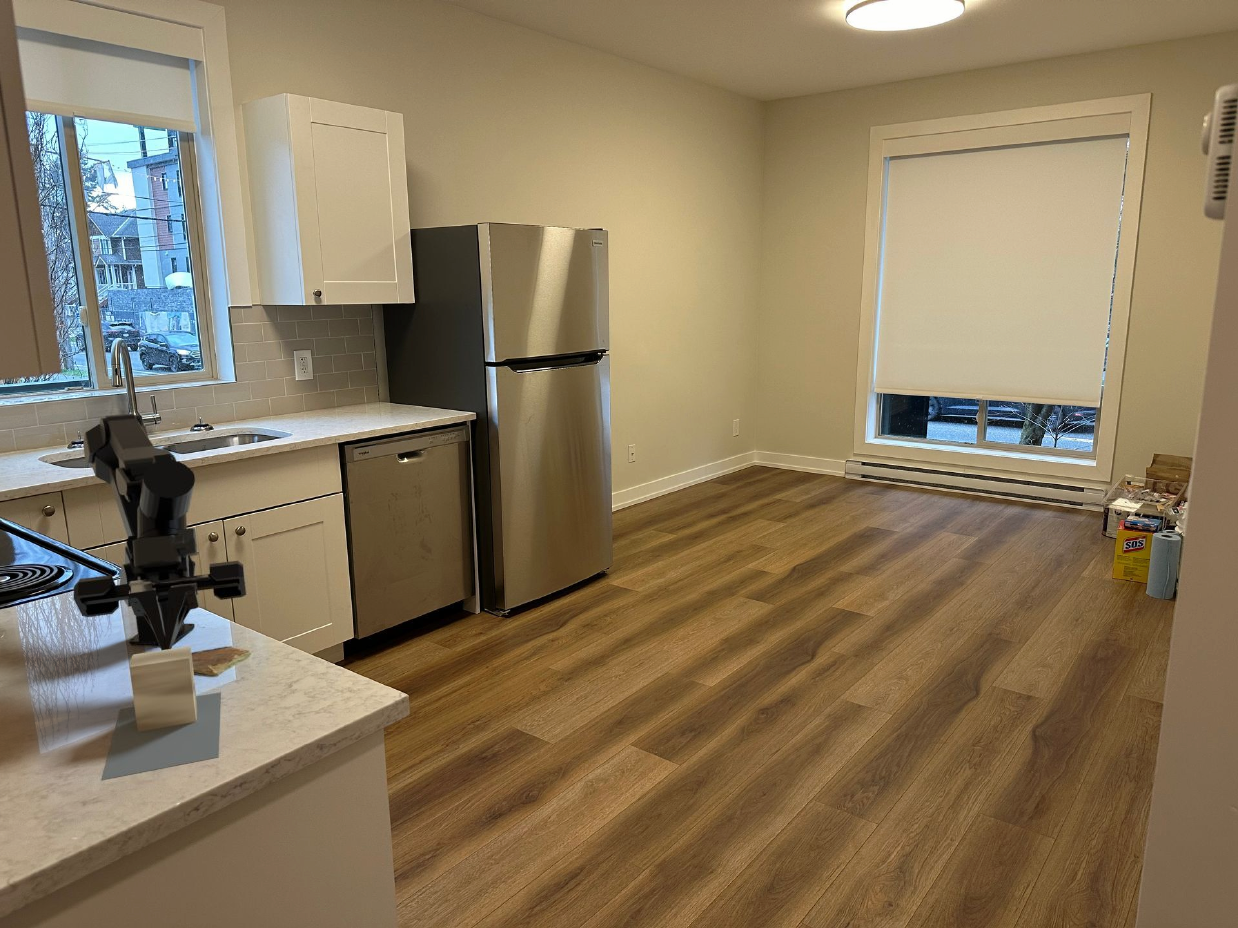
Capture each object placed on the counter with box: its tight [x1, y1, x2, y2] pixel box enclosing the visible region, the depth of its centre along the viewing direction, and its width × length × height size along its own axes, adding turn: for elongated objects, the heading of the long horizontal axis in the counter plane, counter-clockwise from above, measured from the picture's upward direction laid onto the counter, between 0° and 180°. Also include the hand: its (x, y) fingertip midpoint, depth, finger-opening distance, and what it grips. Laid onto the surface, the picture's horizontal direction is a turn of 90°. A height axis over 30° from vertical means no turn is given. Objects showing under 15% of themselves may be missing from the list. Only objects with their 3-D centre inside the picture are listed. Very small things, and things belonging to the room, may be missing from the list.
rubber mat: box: [101, 691, 222, 781], centre depth 98 cm, size 16×11×1 cm
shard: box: [191, 645, 252, 677], centre depth 116 cm, size 11×8×2 cm
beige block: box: [129, 645, 197, 732], centre depth 100 cm, size 4×6×8 cm, turn 113°
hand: (165, 651), depth 104 cm, fingers closed
